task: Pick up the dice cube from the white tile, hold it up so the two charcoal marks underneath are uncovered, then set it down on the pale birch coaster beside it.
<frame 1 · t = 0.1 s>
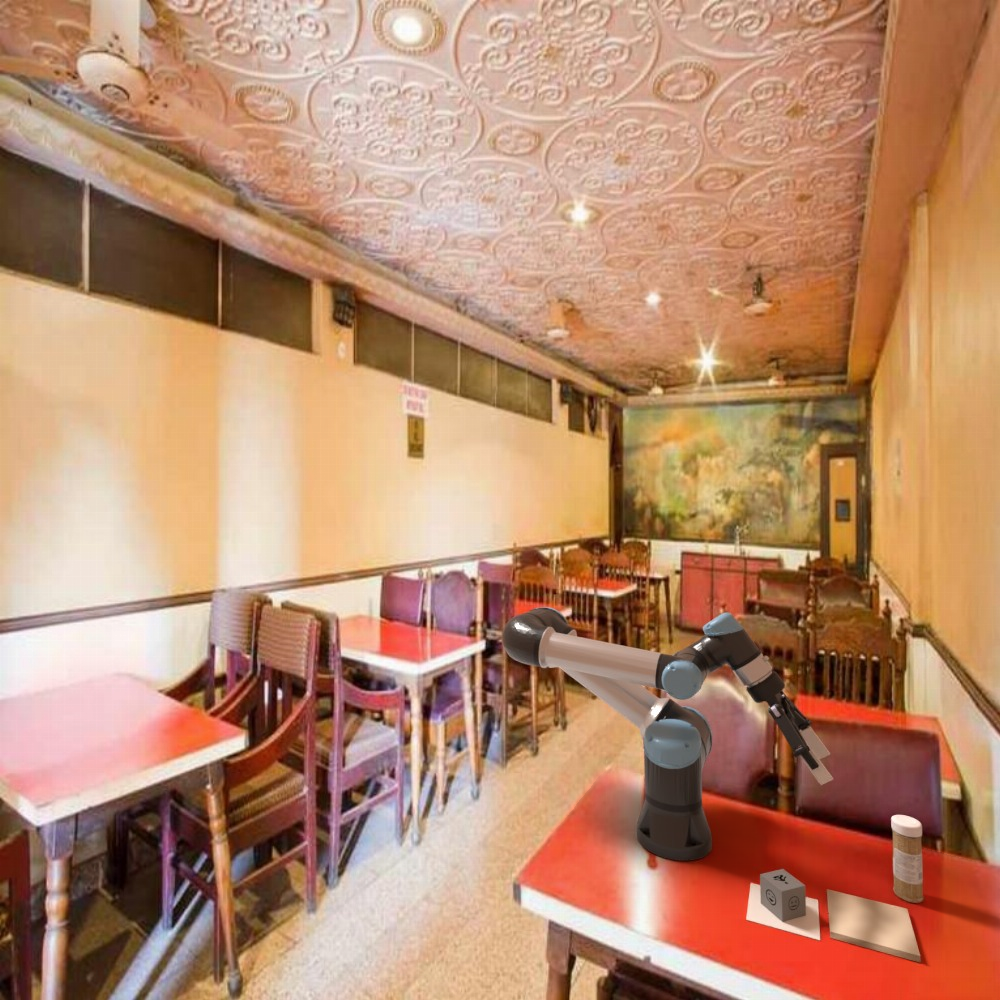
hand: (825, 768, 123), 15 cm above the table, tool tilted 35°, fingers open, 13 cm apart
sprinkles bottle: (908, 897, 105), on the table
white tile: (782, 910, 102), on the table
birch coaster: (869, 925, 97), on the table
dice cube: (782, 910, 102), resting on white tile
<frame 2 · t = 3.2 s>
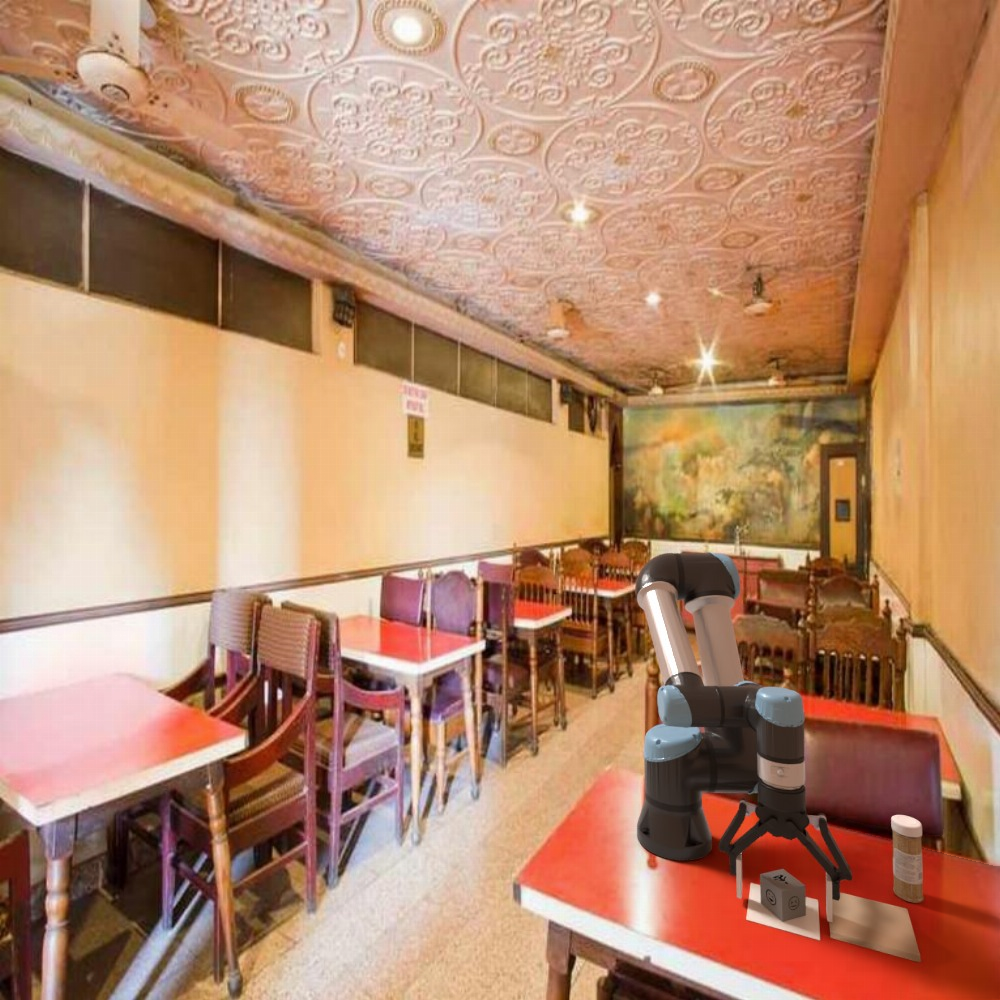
hand: (783, 906, 101), 1 cm above the table, tool pointing down, fingers open, 13 cm apart
nothing on the table moved.
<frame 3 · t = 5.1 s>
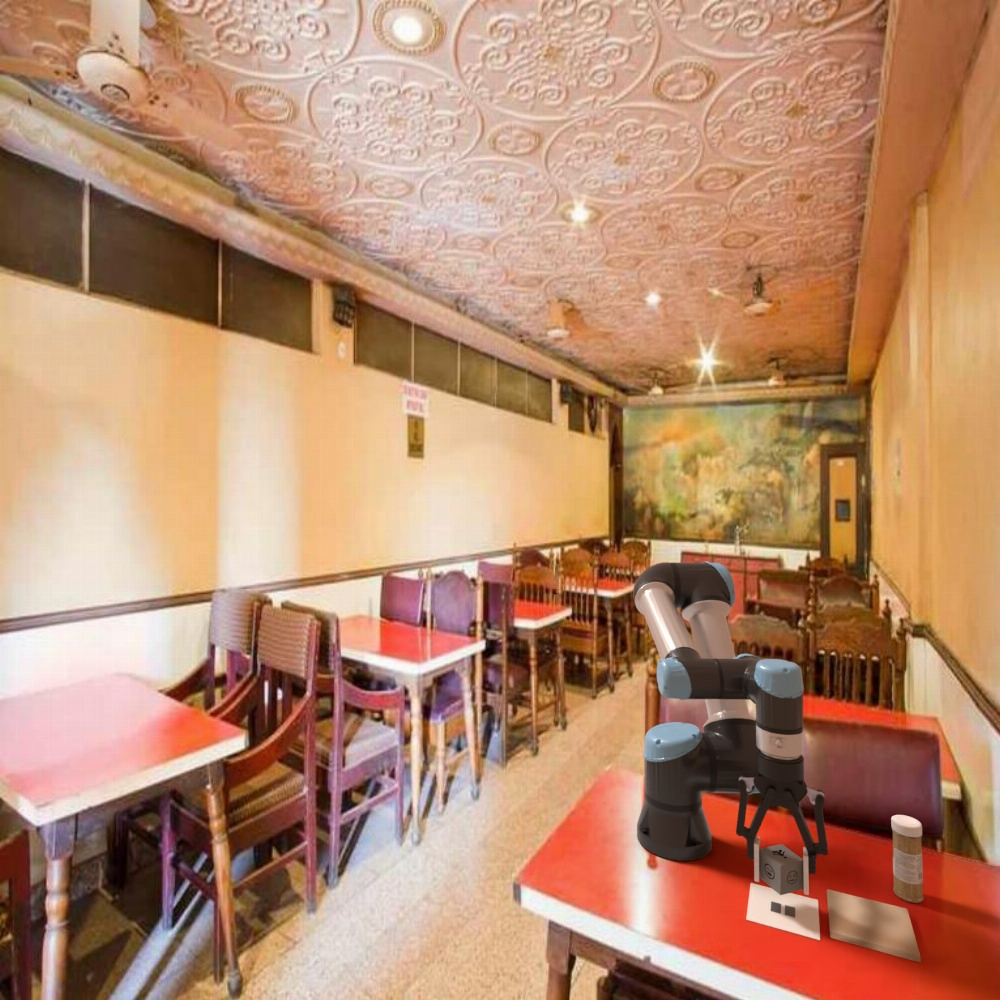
hand: (781, 883, 102), 4 cm above the table, tool pointing down, fingers closed on dice cube, 7 cm apart
dice cube: (781, 884, 102), point 4 cm above the table, touching gripper
everything else where it was.
when the fingers open (1 cm above the table, at t = 11.8 s): dice cube stays where it is, resting on birch coaster.
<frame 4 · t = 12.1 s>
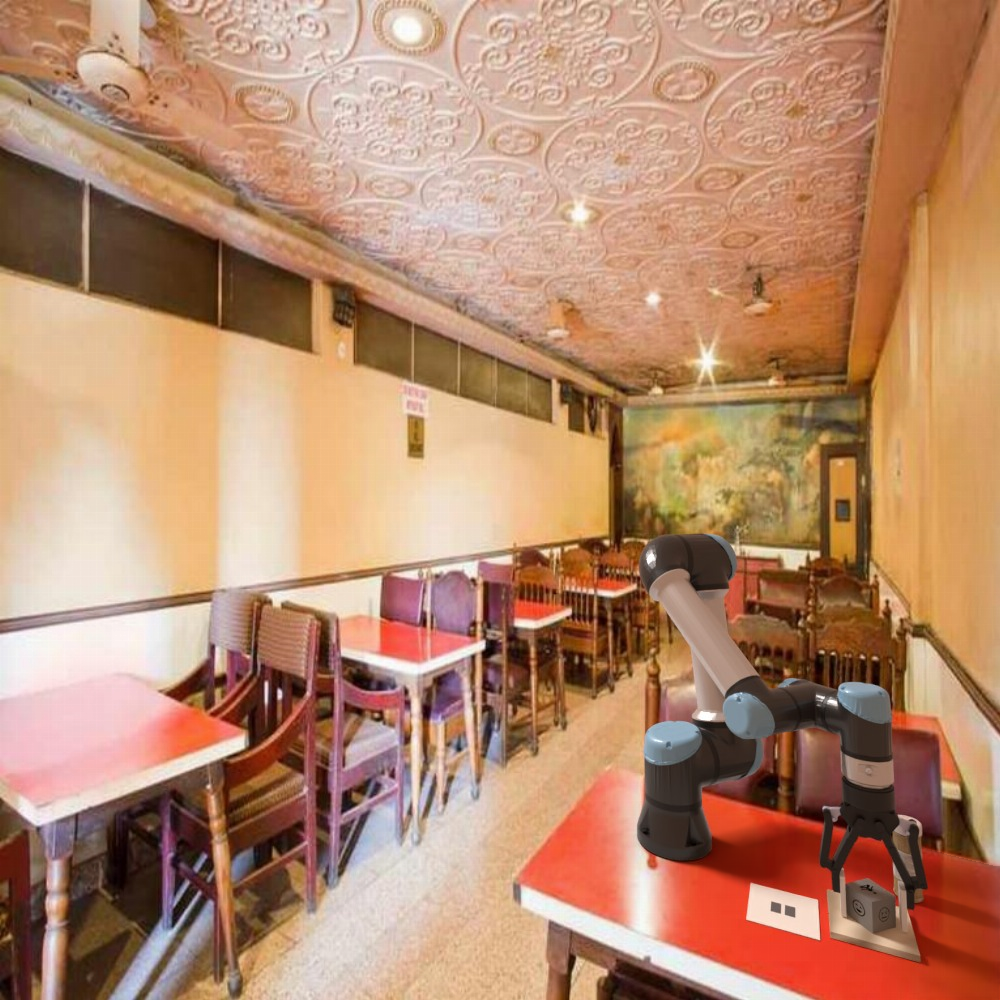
hand: (872, 918, 97), 1 cm above the table, tool pointing down, fingers open, 8 cm apart
dice cube: (870, 921, 97), point 1 cm above the table, touching birch coaster
everything else where it was.
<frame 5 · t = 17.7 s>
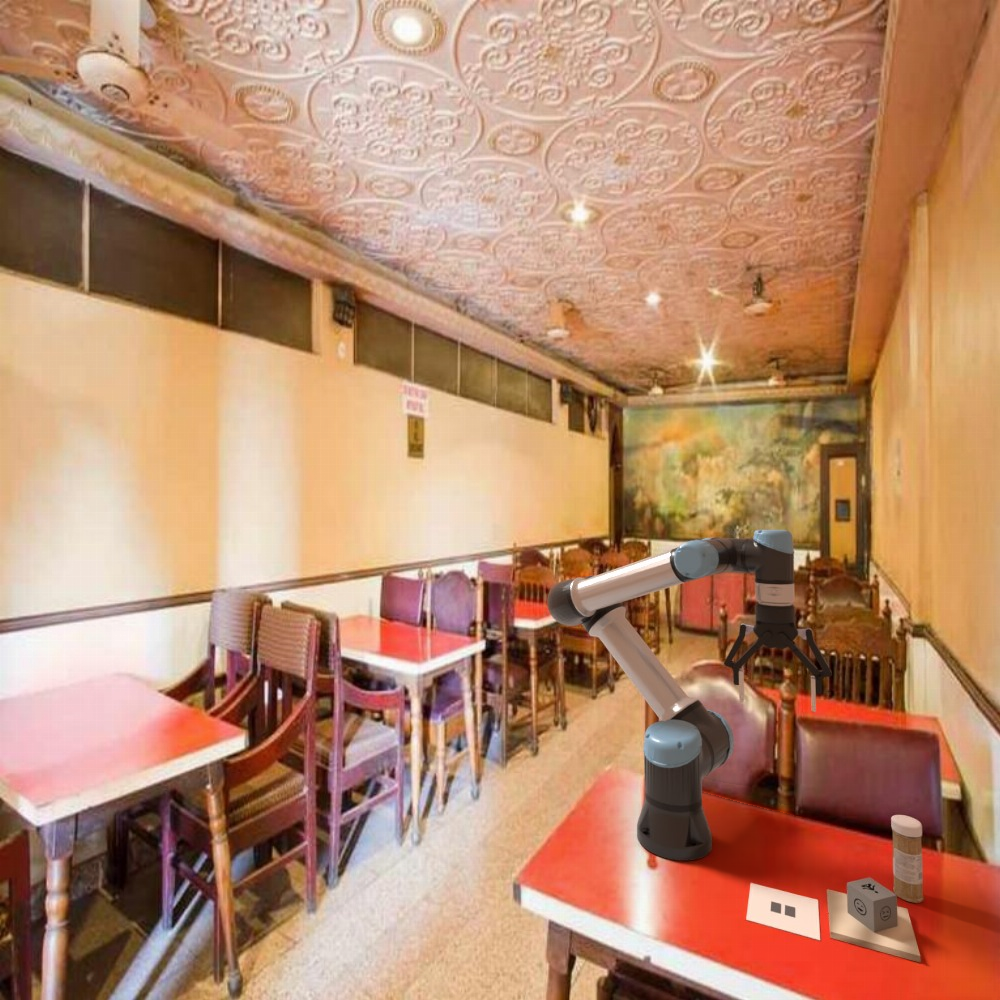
hand: (776, 705, 122), 29 cm above the table, tool pointing down, fingers open, 13 cm apart
nothing on the table moved.
at the end: dice cube inside the target area (0.5 cm from its centre), point 0.8 cm above the table; dice cube tilted 0°; the gripper is holding nothing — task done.
